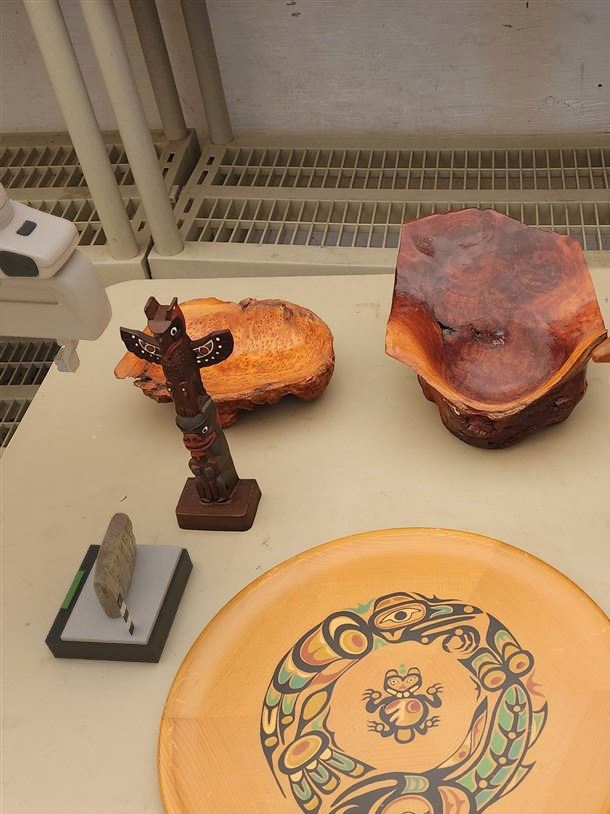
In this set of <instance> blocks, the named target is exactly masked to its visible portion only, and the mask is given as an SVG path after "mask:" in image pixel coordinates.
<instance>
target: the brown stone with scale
mask: <svg viewBox="0 0 610 814" xmlns="http://www.w3.org/2000/svg"><path fill="white" fill-rule="evenodd" d="M133 525H134V524H133V523H132V521H131V519H130V517H129V516H128V514H127V513H125V512H116V513H115V512H114V514H113V515H112V517H111V519H110V521H109V523H108V525H107V527H106V530H105V533H104V536H103V538H102V541H101V543H100V545H101V546H100V549H99V552H98V556H97V561H96V566H95V571H94V580H93V586H94V590H95V593H96V596H97V598H98V600H99V603H100V605H101V607H102V608H103V610H104V612H105V613H106V615H107V616H108V617H118V616H120V615H121V613H122V616H123V618H124V620H125V623H126V625H127V627H128V630H129V632H130V634H131V636H132V634H133V630H134V624H133V622H132V620H131V617H130V615H129V612H128V610H127V608H126V605H125V603H124V601H125V597H126V594H127V591H128V588H129V583H130V579H131V573H132V569H133V566H134V561H135V556H136V546H135V545H136V544H137V543H136V542H137V541H136V537H135V534H134V532H133V531H134V526H133Z"/></svg>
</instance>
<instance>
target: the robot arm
mask: <svg viewBox="0 0 610 814" xmlns="http://www.w3.org/2000/svg"><path fill="white" fill-rule="evenodd" d="M79 241H80V233H79V231H78V228H77V225H76V224H75V223H73V222H72V221H70V220H68V219H66V218H63V217H59V216H57V215H54V214H50V213H47V212H45V211H42V210H39V209H36V208H33V207H31V206H28V205H26V204H23V203H21V202H19V201H17V200H14V199H11V198H9V195H8V192H7V191H6V188H5V187H4V185H3V183H2V182H1V181H0V336H1V337H18V338H19V337H20V338H38V339H55V340H56V343H57V345H58V346H60V348H59V350H58V351H57V352H58V353H57V354H56V355H55V356H54V357H53V361H54V364H55V365H56V366H57V371H58V372H60V373H71V374H73V373H74V374H75V373H76V372H77V370H78V369H79V367H80V365H81V360H80V357H79V355H78V352H77V349H78V346H79V342H80V341H87V342H88V341H89V342H94V341H97V340H99V339H100V337H101V336H102V335H103V334H104V332H105V331H106V329H107V328H108V327H109V325H110V322H111V320H112V318H113V308H112V304H111V302H110V298H109V297H108V293H107V291H106V289H105V286H104V283H103V281H102V279H101V276H100V274H99V272H98V270H97V268H96V266H95V265H94V263H93V261H92V260H91V259H90V258H89V257H88V255H86V254H85V253H84V252H83V251H81V250H80V249H79V248H77V245H78V243H79Z"/></svg>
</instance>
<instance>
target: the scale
mask: <svg viewBox="0 0 610 814" xmlns="http://www.w3.org/2000/svg"><path fill="white" fill-rule="evenodd" d="M100 546H101V544H90V545H89V547H88V549H87V550H86V552H85V555H84V557H83V560H82V562H81V564H80V566H79V568H78V570H77V571H76V574H75V577H74V579H73V580H72V582H71V584H70V587H69V589H68V591H67V593H66V595H65V597H64V599H63V602H62V604H61V606H60V608H59V610H58V612H57V615H56V616H55V618H54V621H53V623H52V625H51V627H50V629H49V631H48V633H47V636H46V637H45V640H44V643H45V645H46V646H47V647H48V649H49V651H50V653H51V655H52V656H53V657H54V658H56V659H57V658H58V659H73V660H74V659H76V660H94V661H96V660H97V661H112V662H113V661H115V662H137V663H153V664H154V663H156V664H157V663H158V664H159V661H160V658H161V656H162V653H163V650H164V647H165V645H166V642H167V639H168V636H169V635H170V631H171V628H172V625H173V623H174V620H175V617H176V615H177V612H178V608H179V606H180V603H181V600H182V597H183V595H184V592H185V589H186V587H187V584H188V581H189V578H190V575H191V572H192V569H193V566H194V563H193V561H192V559H191V556H190V553H189V551H188V549H187V548H183V547H182V546H181V545H162V544H139V543H138V544H137V543H136V545H135V546H136V556H135V561H134V566H133V569H132V573H131V579H130V583H129V588H128V591H127V594H126V597H125V601H124V603H125V605H126V608H127V610H128V612H129V615H130V617H131V620H132V622H133V624H134V630H133V634H132V636H131V634H130V632H129V630H128V627H127V625H126V623H125V620H124V618H123V616H122V613H121V615H120V616H118V617H108V616H107V615H106V613H105V612H104V610H103V608H102V607H101V605H100V603H99V600H98V598H97V596H96V593H95V590H94V586H93V580H94V571H95V566H96V561H97V556H98V552H99V549H100Z"/></svg>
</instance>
